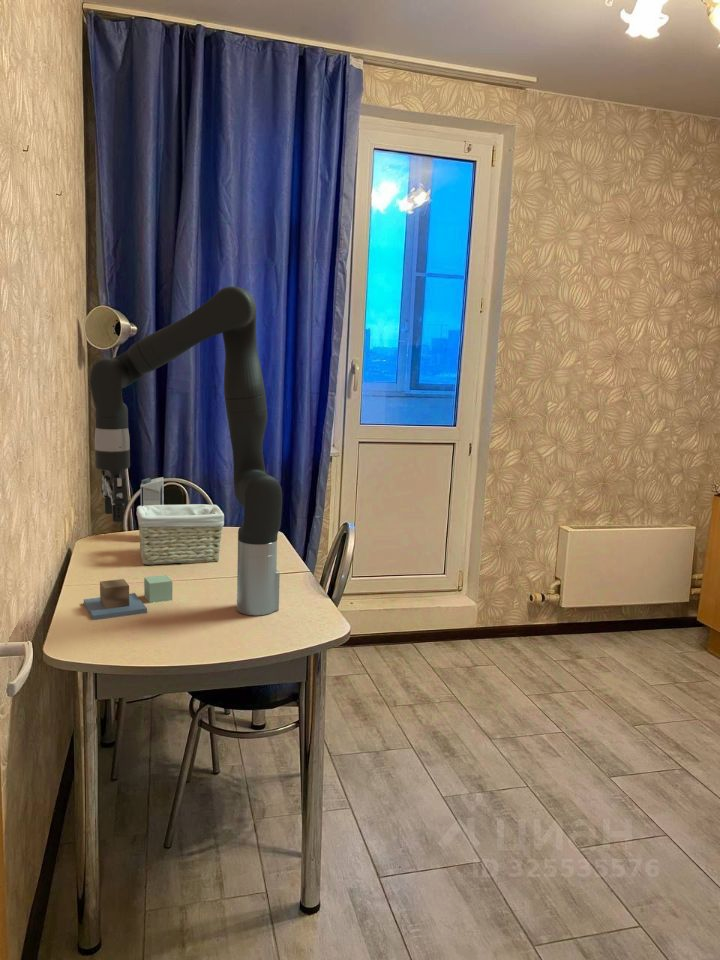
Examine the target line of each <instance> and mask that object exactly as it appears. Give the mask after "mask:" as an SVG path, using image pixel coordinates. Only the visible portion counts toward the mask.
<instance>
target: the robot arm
mask: <svg viewBox="0 0 720 960" xmlns="http://www.w3.org/2000/svg"><path fill="white" fill-rule="evenodd" d="M220 334H222V340H223V344H224V345H223V346H224V355H225V359H224V373H223V374H224V375H223V376H224V377H223V394H224V396H223V397H224V403H225V410H226V417H227V423H228V430H229V436H230V445H231V448H232V457H233V458H232V460H233V461H232V462H233V492H234V495H235V499H236V500H237V503H239V504H240V505H241V506H242V507H244V511H243V514H244V515H243V523H242V525H241V526H239V527H238V530H237V531H238V532H237V571H236V572H237V577H236V578H237V580H236V581H237V584H236V585H237V587H236V588H237V589H236V591H237V593H236V611H237V612H239V613H241V614H242V615H246V616H247V615H248V616H264V615H269V614H271V613H274V612H277V611H279V610H280V580H281V579H280V577H281V575H280V571H279V570H278V569H277V565H278V564H277V563H278V562H277V559H278V534H279V531H280V529H281V527H282V526H281V525H282V512H283V511H282V510H283V490H282V486H281V484H280V483H279V481H278V480H277V479H276V478H275V477H274V476H273V475H269V474H267V470H266V465H265V460H264V453H263V452H264V451H263V444H264V443H263V442H264V437H265V432H266V428H267V423H268V407H267V406H268V405H267V397H266V389H265V385H264V383H265V382H264V378H263V377H264V376H263V371H262V367H261V362H260V357H259V353H258V352H259V351H258V342H257V304H256V301H255V299H254V296H253V295H252V294H251V293H250V292H249V291H248V290H247V289H244V288H243V287H239V286H225V287H223V288H221V289H220V290H218V291H217V292H216V293H215V294H214V295H213V296H212V297H210V298H209V299H208V300H207V301H206V302H204V303H203V304H201V306H199V307H198V308H197V309H194V311H192V312H191V313H188V315H186V316H184V317H183V318H180V319H179V320H176V321H174V322H173V323H171V324H169V325H167V326H165V327H163V328H161V329H158V330H156V331H155V332H153V333H151V334H149V335H147V336H146V337H144V338H142V339H140V340H138V341H136V342H135V343H133V344H131V346H129V348H128V349H127V350H126V351H124V352H122V353H121V354H119V355H117V356H115V357H112V358H105V359H104V358H103V359H99V360H97V361H96V362H95V363H94V364H93V365H92V367H91V370H90V373H89V374H90V375H89V385H90V391H91V394H92V400H93V404H94V407H95V414H94V415H95V432H94V465H95V469H97V470H99V471H100V473H101V493H102V497H103V498H104V501H103V502H104V514H106V515H111V516H112V517H111V519H112V521H113V522H122V521H123V519H124V506H125V504H126V502H127V499H126V477H125V476H122V473H121V471H123V470H128V469H129V468H130V467H131V459H130V458H131V451H130V450H131V448H130V447H131V446H130V444H131V443H130V433H129V409H128V406H127V404H126V403H124V399H123V389H124V388H127V387H128V386H130V385H131V384H133V383H135V382H136V381H138V380H139V379H141V378H142V377H143V376H145V375H146V374H148V373H151V372H153V371H155V370H157V369H158V368H161V367H162V366H165V365H166V364H168V363H170V362H171V361H173V360H174V359H176V358H178V357H179V356H181V355H183V354H184V353H185V352H187V351H188V350H190V349H191V348H192V347H195V346H196V345H197V344H199V343H202V342H203V341H206V340H207V339H209V338H213V337H215V336H216V335H217V336H218V335H220ZM117 497H119V498H117Z"/></svg>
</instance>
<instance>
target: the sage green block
mask: <svg viewBox="0 0 720 960" xmlns="http://www.w3.org/2000/svg"><path fill="white" fill-rule="evenodd" d="M143 578H144V580H143V585H144V586H143V588H144V589H143V591H144V594H143V595H144V598H145V597H146V598H147V599H146V598H145V599H146V600H147V601H149V602H148V603H149V604H154V603H153V602H155V603H161V602H162V601H163V602H169V601H170V600H171V601H173V580H172V579H171V578H170V577H169V576H168V575H167V574H162V575H152V576H144V577H143Z"/></svg>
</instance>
